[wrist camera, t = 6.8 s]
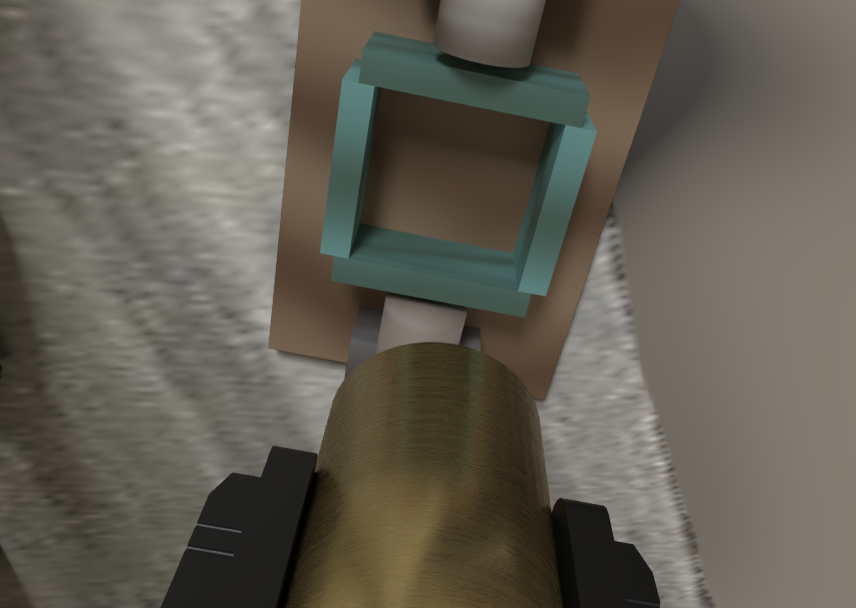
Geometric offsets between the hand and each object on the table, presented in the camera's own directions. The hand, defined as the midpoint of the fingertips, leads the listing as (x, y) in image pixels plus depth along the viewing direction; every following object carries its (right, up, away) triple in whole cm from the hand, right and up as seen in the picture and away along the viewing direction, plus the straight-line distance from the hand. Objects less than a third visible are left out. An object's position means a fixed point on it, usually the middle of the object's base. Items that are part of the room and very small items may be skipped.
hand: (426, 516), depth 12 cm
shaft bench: (+1, +9, +16) cm, 18 cm away
